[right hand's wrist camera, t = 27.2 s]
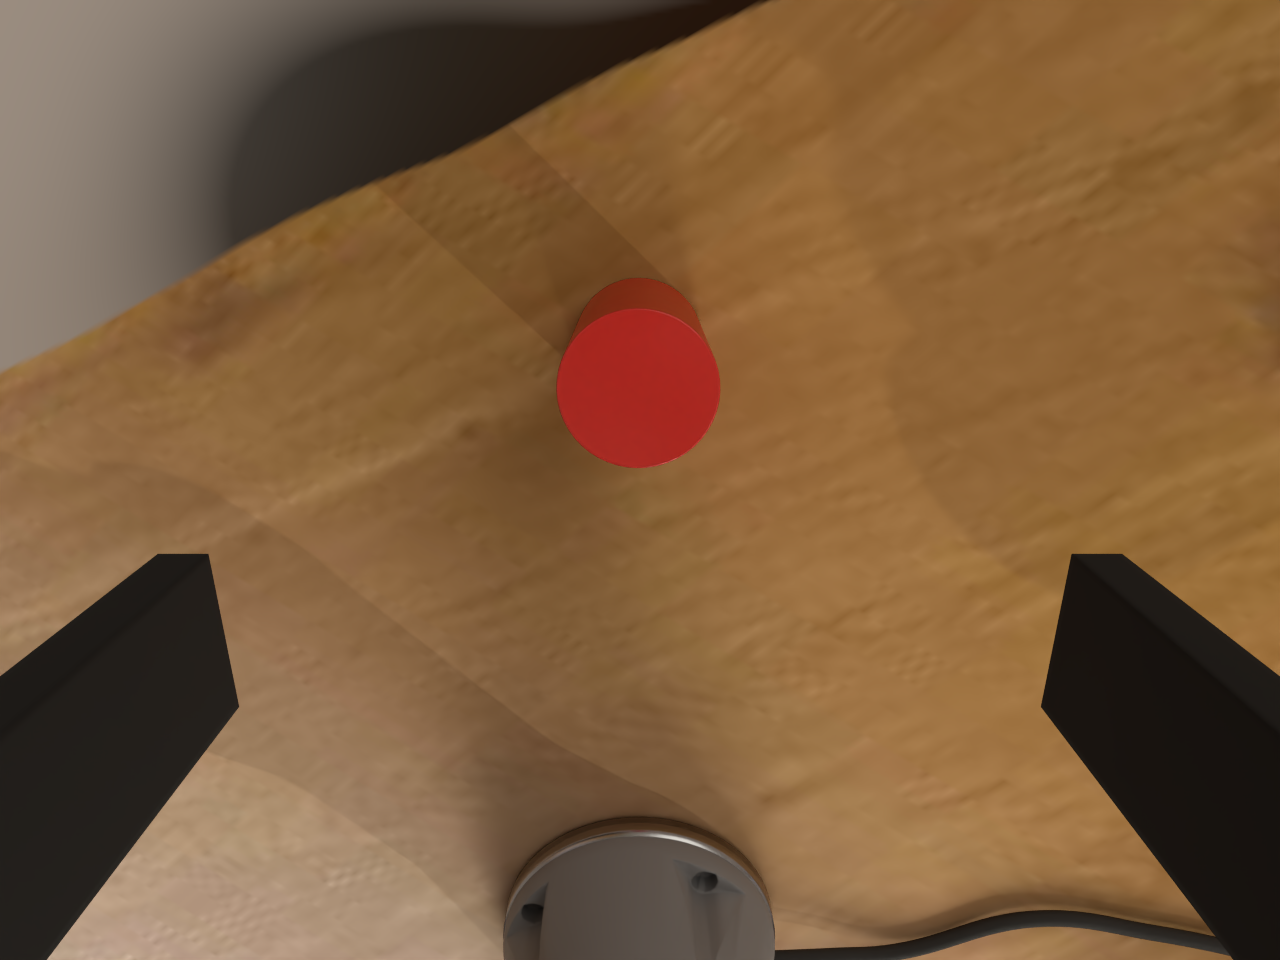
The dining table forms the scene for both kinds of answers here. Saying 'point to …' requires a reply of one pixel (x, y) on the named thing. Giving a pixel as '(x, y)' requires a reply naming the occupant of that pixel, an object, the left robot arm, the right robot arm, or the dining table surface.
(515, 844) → the dining table surface
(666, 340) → the canister
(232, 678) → the right robot arm
